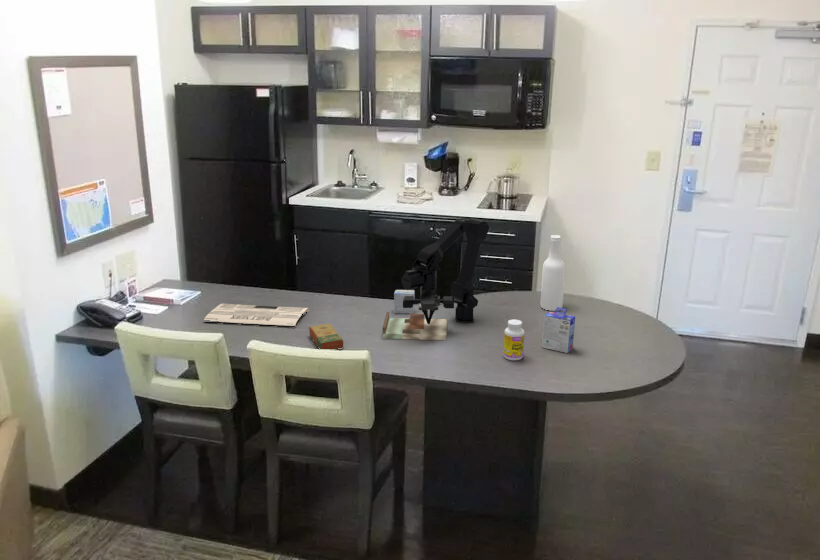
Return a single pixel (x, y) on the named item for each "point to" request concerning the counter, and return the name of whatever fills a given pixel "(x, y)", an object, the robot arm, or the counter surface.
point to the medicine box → (399, 301)
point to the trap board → (401, 329)
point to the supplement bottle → (513, 340)
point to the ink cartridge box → (558, 331)
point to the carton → (326, 337)
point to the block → (417, 321)
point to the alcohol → (553, 277)
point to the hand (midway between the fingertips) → (428, 323)
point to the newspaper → (256, 314)
